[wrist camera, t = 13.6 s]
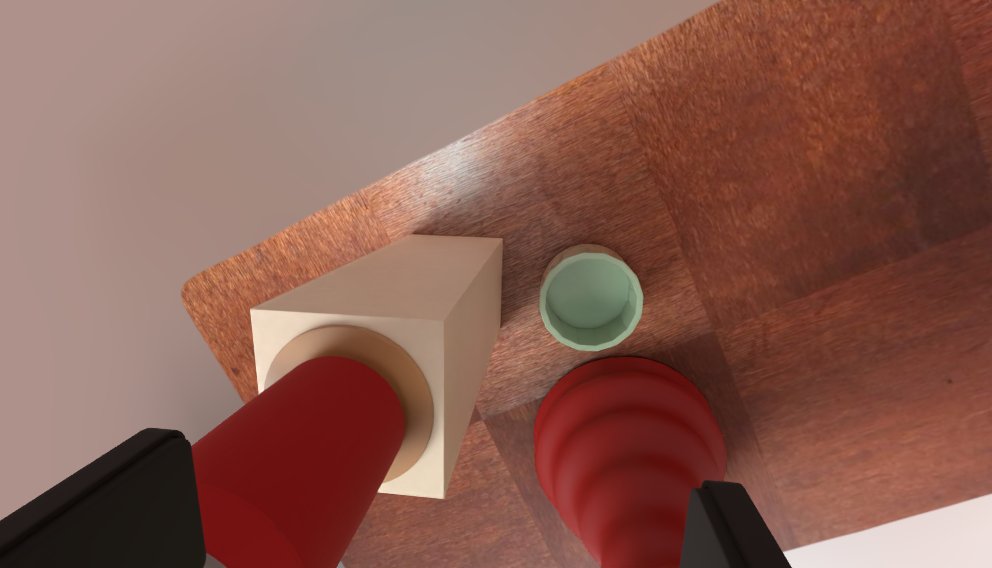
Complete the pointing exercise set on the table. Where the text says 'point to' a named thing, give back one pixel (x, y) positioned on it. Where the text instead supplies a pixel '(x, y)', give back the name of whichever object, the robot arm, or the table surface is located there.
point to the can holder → (590, 298)
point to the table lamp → (626, 458)
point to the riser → (408, 329)
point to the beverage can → (297, 467)
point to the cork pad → (385, 362)
